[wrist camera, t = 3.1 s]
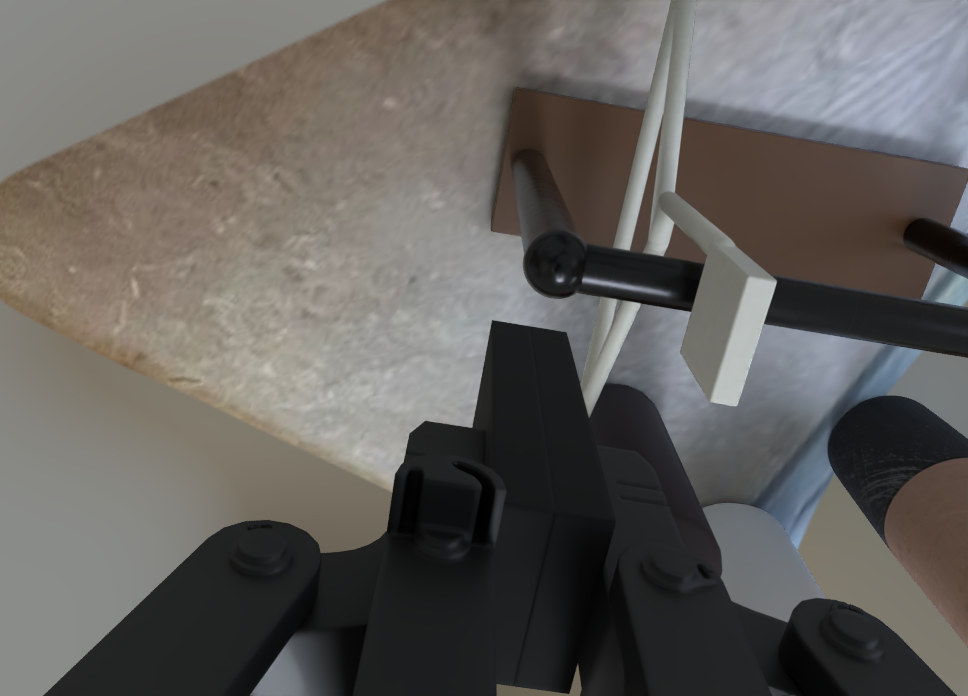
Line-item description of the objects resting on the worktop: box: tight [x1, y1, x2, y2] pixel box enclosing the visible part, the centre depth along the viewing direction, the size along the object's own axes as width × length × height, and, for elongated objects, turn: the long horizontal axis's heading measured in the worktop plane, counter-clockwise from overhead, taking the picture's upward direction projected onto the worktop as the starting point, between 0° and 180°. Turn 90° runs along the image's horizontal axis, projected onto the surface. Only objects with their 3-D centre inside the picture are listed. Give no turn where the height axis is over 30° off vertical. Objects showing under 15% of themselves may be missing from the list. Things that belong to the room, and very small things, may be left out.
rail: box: [491, 87, 968, 358], centre depth 35 cm, size 8×26×23 cm, turn 80°
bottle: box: [589, 384, 723, 578], centre depth 42 cm, size 7×7×20 cm
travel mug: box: [828, 396, 968, 647], centre depth 42 cm, size 8×8×20 cm
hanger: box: [580, 0, 777, 417], centre depth 29 cm, size 23×1×18 cm, turn 170°
